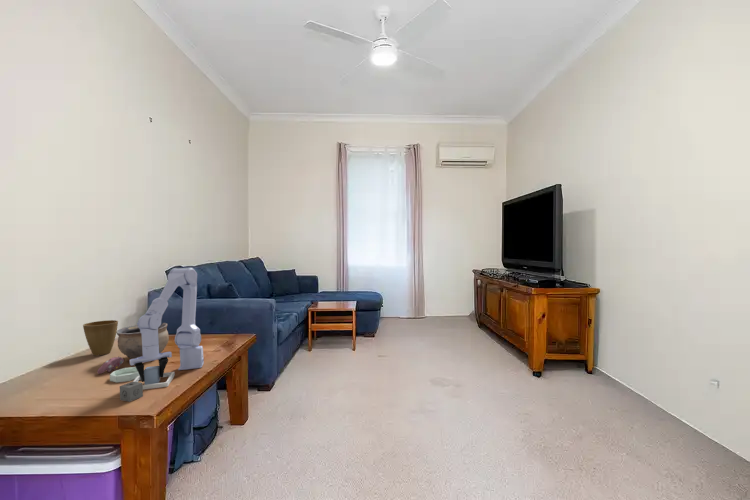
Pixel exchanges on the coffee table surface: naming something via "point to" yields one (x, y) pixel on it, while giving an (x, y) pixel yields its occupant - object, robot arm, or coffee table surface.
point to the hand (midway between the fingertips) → (152, 378)
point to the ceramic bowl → (138, 340)
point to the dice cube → (131, 391)
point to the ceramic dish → (124, 374)
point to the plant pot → (100, 336)
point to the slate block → (151, 375)
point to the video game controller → (110, 365)
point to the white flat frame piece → (158, 385)
